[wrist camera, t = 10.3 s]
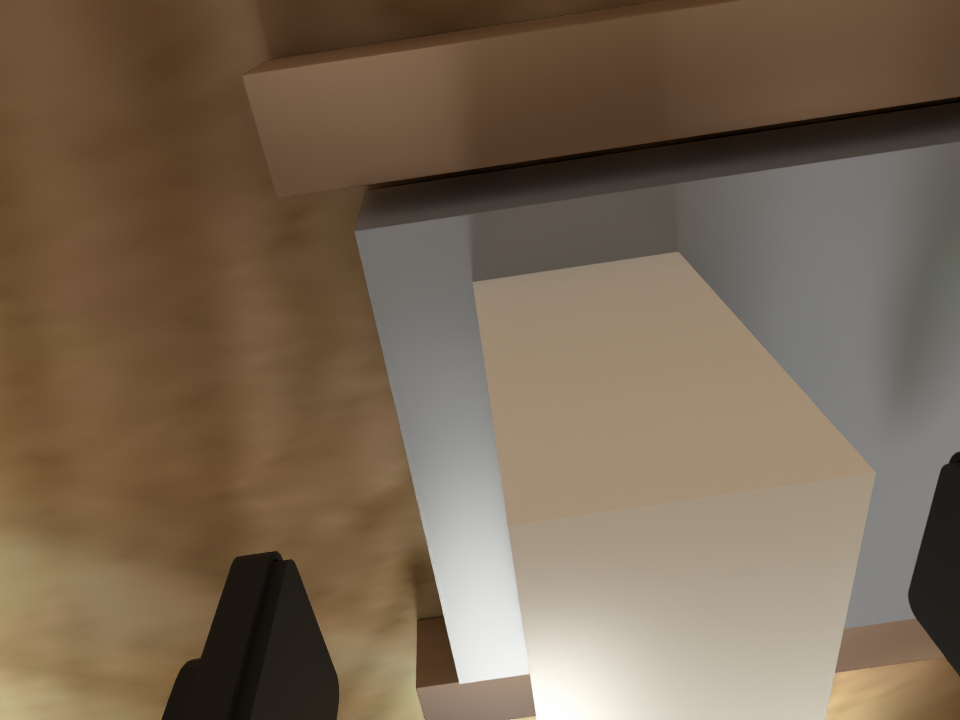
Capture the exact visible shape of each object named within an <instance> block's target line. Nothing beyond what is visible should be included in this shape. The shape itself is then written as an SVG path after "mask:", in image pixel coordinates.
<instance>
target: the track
mask: <svg viewBox="0 0 960 720" xmlns="http://www.w3.org/2000/svg"><path fill="white" fill-rule="evenodd" d="M242 78H243V82H244V85H245V89H246V92H247V96H248V100H249V103H250V107H251V110H252V114H253V117H254V121H255V124H256V128H257V131H258V135H259V138H260V142H261V145H262V149H263V152H264V156H265V159H266V163H267V166H268V170H269V173H270V177H271V180H272V184H273V187H274V191H275V194H276V198H282V197H289V196H296V195H303V194H309V193H316V192H323V191H329V190H336V189H343V188H350V187H356V186H363V185H370V184H376V183H383V182H390V181H397V180H403V179H410V178H417V177H423V176H430V175H437V174H444V173H450V172H457V171H464V170H470V169H477V168H484V167H491V166H497V165H504V164H511V163H517V162H524V161H531V160H538V159H544V158H551V157H558V156H564V155H571V154H578V153H584V152H591V151H598V150H605V149H611V148H618V147H625V146H631V145H638V144H645V143H652V142H658V141H665V140H672V139H678V138H685V137H692V136H699V135H705V134H712V133H719V132H725V131H732V130H739V129H746V128H752V127H759V126H766V125H772V124H779V123H786V122H793V121H799V120H806V119H813V118H819V117H826V116H833V115H840V114H846V113H853V112H860V111H866V110H873V109H880V108H887V107H893V106H900V105H907V104H913V103H920V102H927V101H934V100H940V99H947V98H954V97H960V0H663V1H656V2H649V3H643V4H636V5H630V6H623V7H616V8H610V9H603V10H596V11H590V12H583V13H576V14H570V15H563V16H556V17H550V18H543V19H536V20H530V21H523V22H516V23H510V24H503V25H496V26H490V27H483V28H476V29H470V30H463V31H457V32H450V33H443V34H437V35H430V36H423V37H417V38H410V39H403V40H397V41H390V42H383V43H377V44H370V45H363V46H357V47H350V48H343V49H337V50H330V51H323V52H317V53H310V54H303V55H297V56H290V57H283V58H277V59H270V60H268V61H266V62H265V63H263V64H261V65H259V66H258V67H256V68H254V69H252V70H251V71H249V72H247V73H245V74H244V75H242ZM941 657H945V656H944V655H943V654H942V652H941V651H940V650H939V648H938V647H937V646H936V644H935V643H934V642H933V640H932V639H931V638H930V636H929V635H928V634H927V632H926V631H925V630H924V628H923V627H922V626H921V624H920V623H919V622H918V620H917V619H916V618H915V619H908V620H901V621H894V622H887V623H880V624H873V625H866V626H859V627H852V628H845V629H844V631H843V635H842V640H841V645H840V650H839V655H838V660H837V665H836V670H835V673H837V672H844V671H851V670H858V669H865V668H872V667H879V666H886V665H893V664H900V663H907V662H914V661H920V660H927V659H934V658H941ZM416 690H417V693H418V697H419V700H420V704H421V707H422V711H423V714H424V718H425V720H510V719H517V718H524V717H531V716H536V712H535V705H534V699H533V692H532V685H531V678H530V674H526V675H519V676H512V677H505V678H499V679H492V680H485V681H478V682H471V683H464V684H459V680H458V675H457V671H456V667H455V662H454V658H453V654H452V649H451V645H450V641H449V637H448V632H447V628H446V624H445V619H444V617H439V618H432V619H425V620H418V621H417V664H416Z"/></svg>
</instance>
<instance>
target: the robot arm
mask: <svg viewBox="0 0 960 720" xmlns="http://www.w3.org/2000/svg"><path fill="white" fill-rule="evenodd" d="M908 600H909V604H910V608H911V610H912V612H913V614H914V616H915V617H916V619H917V620H918V622H919V623H920V624H921V626H922V627H923V628H924V630H925V631H926V632H927V634H928V635H929V636H930V638H931V639H932V640H933V642H934V643H935V644H936V646H937V647H938V648H939V650H940V651H941V652H942V654H943V655H944V656H945V658H946V659H947V660H948V662H949V663H950V664H951V665H952V667H953V668H954V669H955V671H956V672H957V673H958V675H959V676H960V452H956V453H955V454H954V455H953V456H952V457H951V459H950V461H949V464H945V465H944V466H943V467H942V468H941V471H940V474H939V477H938V481H937V485H936V489H935V492H934V496H933V500H932V504H931V508H930V511H929V515H928V519H927V523H926V526H925V530H924V534H923V538H922V541H921V545H920V549H919V553H918V557H917V560H916V564H915V568H914V572H913V575H912V579H911V583H910V587H909V590H908ZM338 703H339V684H338V678H337V674H336V671H335V669H334V666H333V663H332V661H331V658H330V655H329V653H328V650H327V647H326V644H325V642H324V639H323V636H322V634H321V631H320V628H319V626H318V623H317V620H316V618H315V615H314V612H313V610H312V607H311V604H310V601H309V599H308V596H307V593H306V591H305V588H304V585H303V583H302V580H301V577H300V575H299V572H298V569H297V567H296V564H295V562H294V561H293V560H292V559H291V560H283V559H282V557H281V555H280V554H279V553H278V552H277V551H274V552H267V553H260V554H253V555H246V556H239V557H236V558H235V559H234V561H233V563H232V565H231V568H230V571H229V574H228V577H227V580H226V583H225V586H224V589H223V592H222V595H221V598H220V601H219V604H218V607H217V610H216V613H215V617H214V620H213V623H212V626H211V629H210V632H209V635H208V638H207V641H206V644H205V647H204V650H203V653H202V656H201V658H199V659H193V660H190V661H188V662H186V664H185V665H184V666H183V667H182V668H181V670H180V672H179V674H178V676H177V678H176V680H175V683H174V686H173V689H172V692H171V694H170V697H169V700H168V703H167V706H166V709H165V711H164V714H163V717H162V720H337V712H338Z"/></svg>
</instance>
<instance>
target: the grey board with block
mask: <svg viewBox="0 0 960 720" xmlns="http://www.w3.org/2000/svg"><path fill="white" fill-rule="evenodd" d="M354 232H355V236H356V240H357V245H358V249H359V253H360V258H361V262H362V266H363V271H364V275H365V279H366V284H367V288H368V292H369V296H370V301H371V305H372V309H373V314H374V318H375V322H376V327H377V331H378V335H379V339H380V344H381V348H382V352H383V357H384V361H385V365H386V370H387V374H388V378H389V383H390V387H391V391H392V395H393V400H394V404H395V408H396V413H397V417H398V421H399V426H400V430H401V434H402V438H403V443H404V447H405V451H406V456H407V460H408V464H409V469H410V473H411V477H412V482H413V486H414V490H415V494H416V499H417V503H418V507H419V512H420V516H421V520H422V525H423V529H424V533H425V538H426V542H427V546H428V550H429V555H430V559H431V563H432V568H433V572H434V576H435V581H436V585H437V589H438V593H439V598H440V602H441V606H442V611H443V615H444V619H445V624H446V628H447V632H448V637H449V641H450V645H451V649H452V654H453V658H454V662H455V667H456V671H457V675H458V680H459V684H464V683H471V682H478V681H485V680H492V679H499V678H505V677H512V676H519V675H526V674H530V678H531V685H532V692H533V699H534V705H535V712H536V719H537V720H825V718H826V713H827V708H828V704H829V699H830V694H831V689H832V684H833V679H834V674H835V670H836V665H837V660H838V655H839V650H840V645H841V640H842V635H843V631H844V629H845V628H852V627H859V626H866V625H873V624H880V623H887V622H894V621H901V620H908V619H915V618H916V617H915V616H914V614H913V612H912V610H911V608H910V604H909V600H908V590H909V587H910V583H911V579H912V575H913V572H914V568H915V564H916V560H917V557H918V553H919V549H920V545H921V541H922V538H923V534H924V530H925V526H926V523H927V519H928V515H929V511H930V508H931V504H932V500H933V496H934V492H935V489H936V485H937V481H938V477H939V474H940V471H941V468H942V467H943V466H944V465H945V464H949V461H950V459H951V457H952V456H953V455H954V454H955V453H956V452H960V102H958V103H951V104H945V105H938V106H931V107H924V108H918V109H911V110H904V111H898V112H891V113H884V114H877V115H871V116H864V117H857V118H851V119H844V120H837V121H830V122H824V123H817V124H810V125H804V126H797V127H790V128H783V129H777V130H770V131H763V132H757V133H750V134H743V135H736V136H730V137H723V138H716V139H710V140H703V141H696V142H689V143H683V144H676V145H669V146H663V147H656V148H649V149H642V150H636V151H629V152H622V153H616V154H609V155H602V156H595V157H589V158H582V159H575V160H569V161H562V162H555V163H548V164H542V165H535V166H528V167H522V168H515V169H508V170H501V171H495V172H488V173H481V174H475V175H468V176H461V177H454V178H448V179H441V180H434V181H428V182H421V183H414V184H407V185H401V186H394V187H387V188H381V189H374V190H367V191H366V192H365V195H364V199H363V202H362V206H361V209H360V213H359V217H358V220H357V224H356V227H355V231H354Z"/></svg>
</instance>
